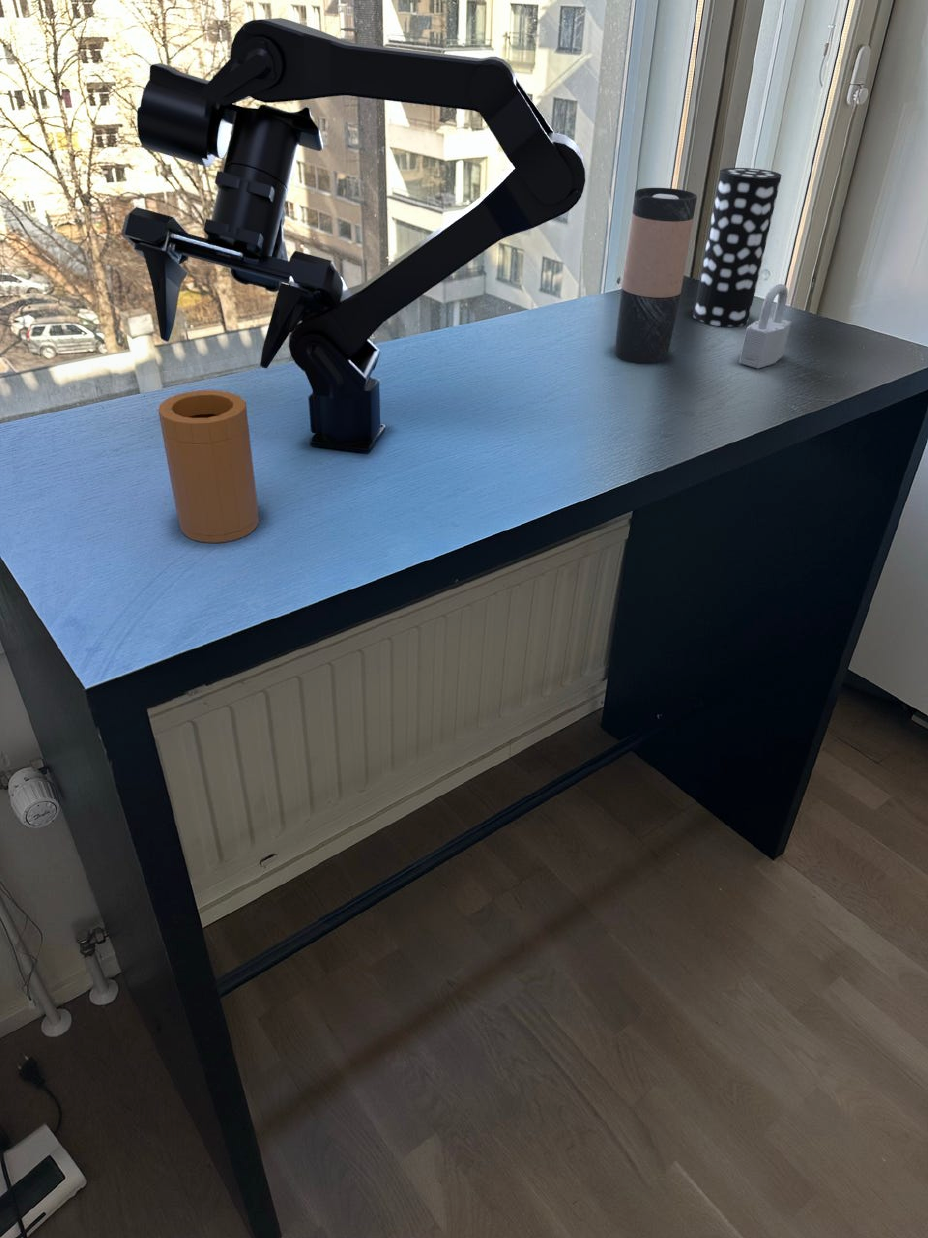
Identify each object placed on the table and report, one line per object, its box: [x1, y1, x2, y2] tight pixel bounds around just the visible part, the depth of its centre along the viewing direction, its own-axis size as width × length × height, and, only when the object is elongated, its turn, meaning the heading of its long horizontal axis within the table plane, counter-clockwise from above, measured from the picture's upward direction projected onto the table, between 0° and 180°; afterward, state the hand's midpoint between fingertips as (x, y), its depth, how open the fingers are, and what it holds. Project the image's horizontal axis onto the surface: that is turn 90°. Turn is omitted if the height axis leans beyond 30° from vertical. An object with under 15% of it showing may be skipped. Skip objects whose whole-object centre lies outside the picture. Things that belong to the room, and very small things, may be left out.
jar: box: [157, 389, 260, 544], centre depth 73 cm, size 7×7×11 cm
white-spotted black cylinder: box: [692, 167, 783, 328], centre depth 126 cm, size 8×8×20 cm
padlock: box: [738, 283, 792, 370], centre depth 114 cm, size 7×4×10 cm, turn 137°
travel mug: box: [614, 187, 698, 365], centre depth 111 cm, size 8×8×20 cm
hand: (214, 353), depth 78 cm, fingers open, 9 cm apart
